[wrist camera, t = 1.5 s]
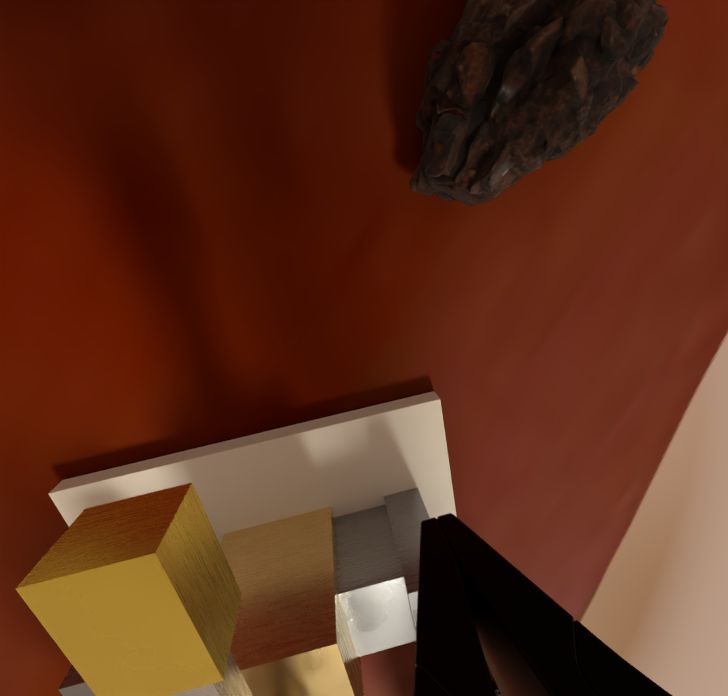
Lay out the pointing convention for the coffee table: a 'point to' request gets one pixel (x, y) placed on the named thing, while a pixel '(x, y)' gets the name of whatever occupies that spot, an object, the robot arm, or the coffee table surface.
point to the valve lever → (142, 598)
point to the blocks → (319, 597)
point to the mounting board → (293, 468)
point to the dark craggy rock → (525, 87)
